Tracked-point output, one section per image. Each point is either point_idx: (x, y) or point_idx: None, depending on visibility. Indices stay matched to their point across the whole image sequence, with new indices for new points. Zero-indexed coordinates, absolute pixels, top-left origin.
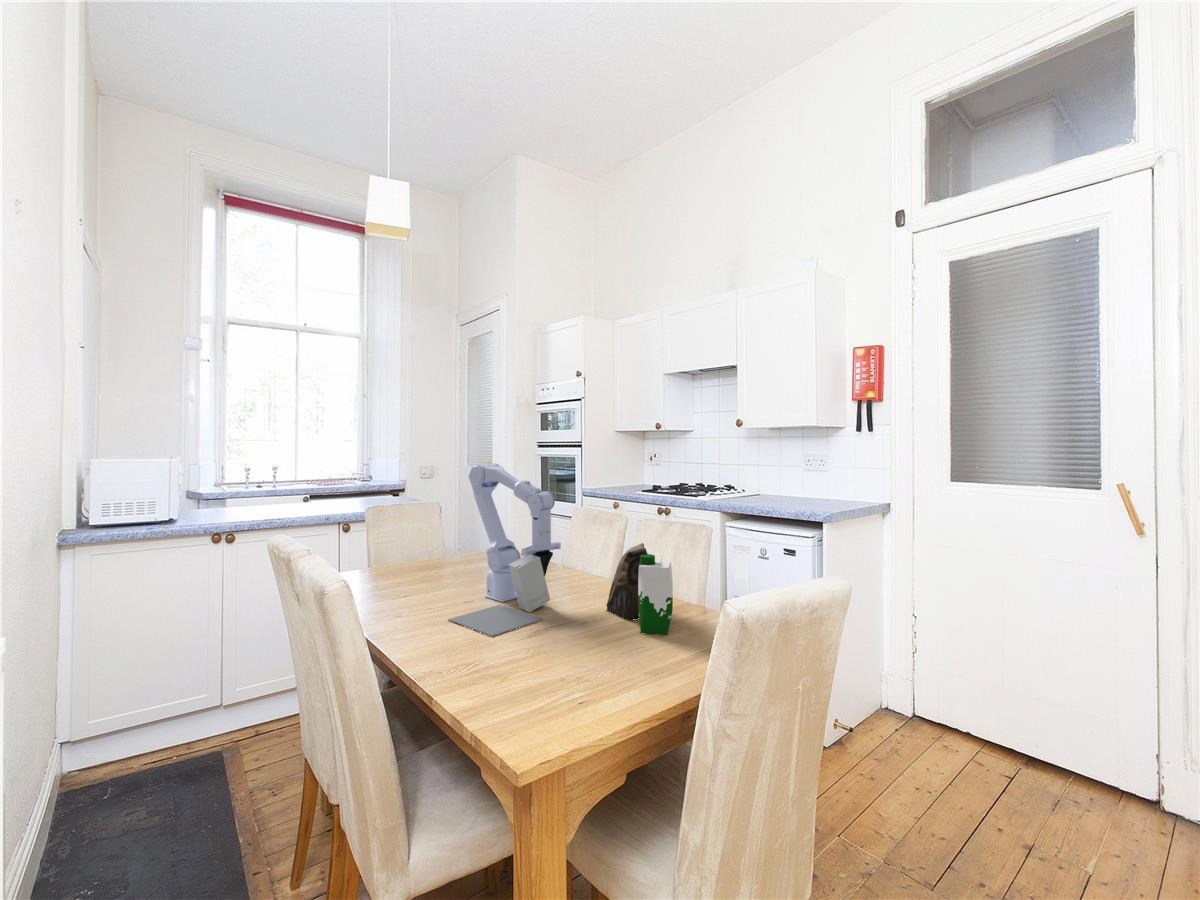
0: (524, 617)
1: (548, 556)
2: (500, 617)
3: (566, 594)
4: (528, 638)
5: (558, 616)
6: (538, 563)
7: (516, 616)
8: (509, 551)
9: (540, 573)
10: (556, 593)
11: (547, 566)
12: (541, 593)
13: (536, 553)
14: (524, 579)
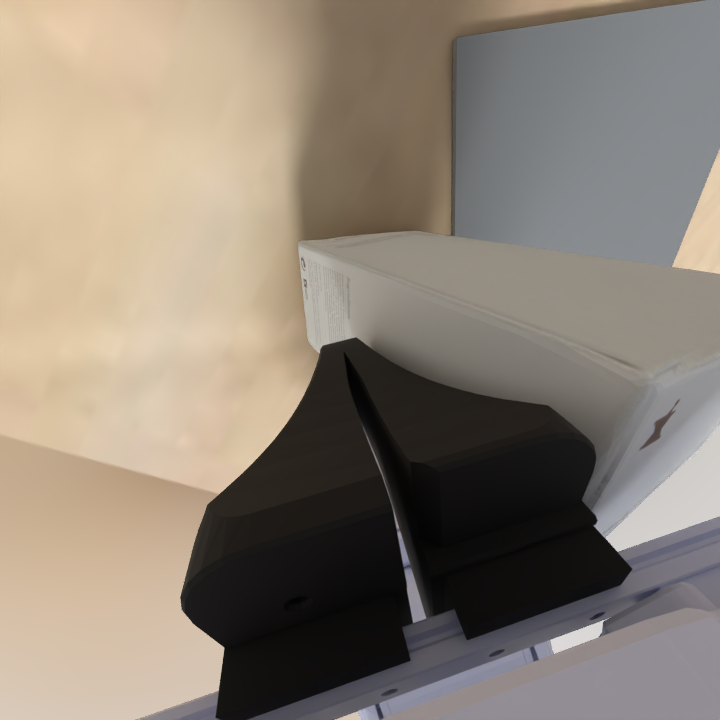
0: (502, 153)
1: (349, 459)
2: (558, 235)
3: (116, 386)
4: None
5: (342, 27)
6: (573, 319)
7: (512, 199)
8: (439, 686)
9: (451, 279)
10: (164, 418)
11: (314, 382)
12: (377, 243)
13: (600, 550)
14: (600, 260)
